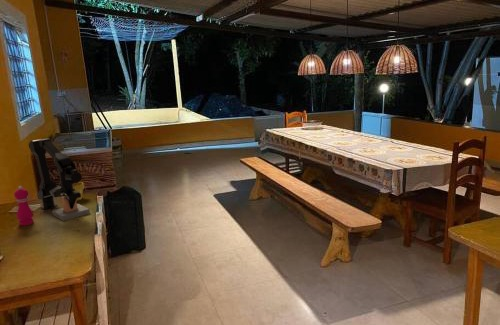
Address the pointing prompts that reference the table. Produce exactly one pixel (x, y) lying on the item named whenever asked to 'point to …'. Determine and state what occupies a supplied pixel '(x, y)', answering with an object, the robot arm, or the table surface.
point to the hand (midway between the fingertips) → (70, 207)
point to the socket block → (70, 213)
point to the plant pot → (79, 189)
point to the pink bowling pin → (23, 207)
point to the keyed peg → (66, 205)
